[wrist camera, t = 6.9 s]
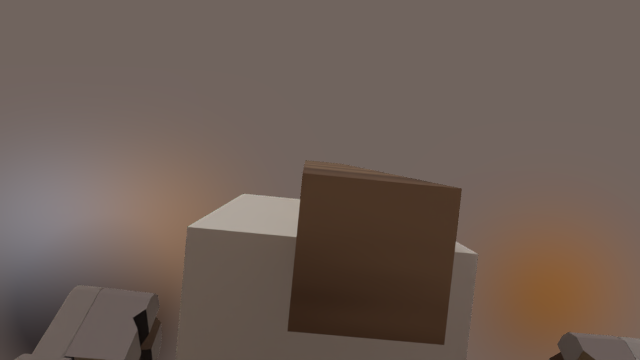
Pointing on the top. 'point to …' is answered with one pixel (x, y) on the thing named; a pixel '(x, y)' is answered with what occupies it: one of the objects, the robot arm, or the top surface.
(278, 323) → the off-white pedestal
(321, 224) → the walnut bar
